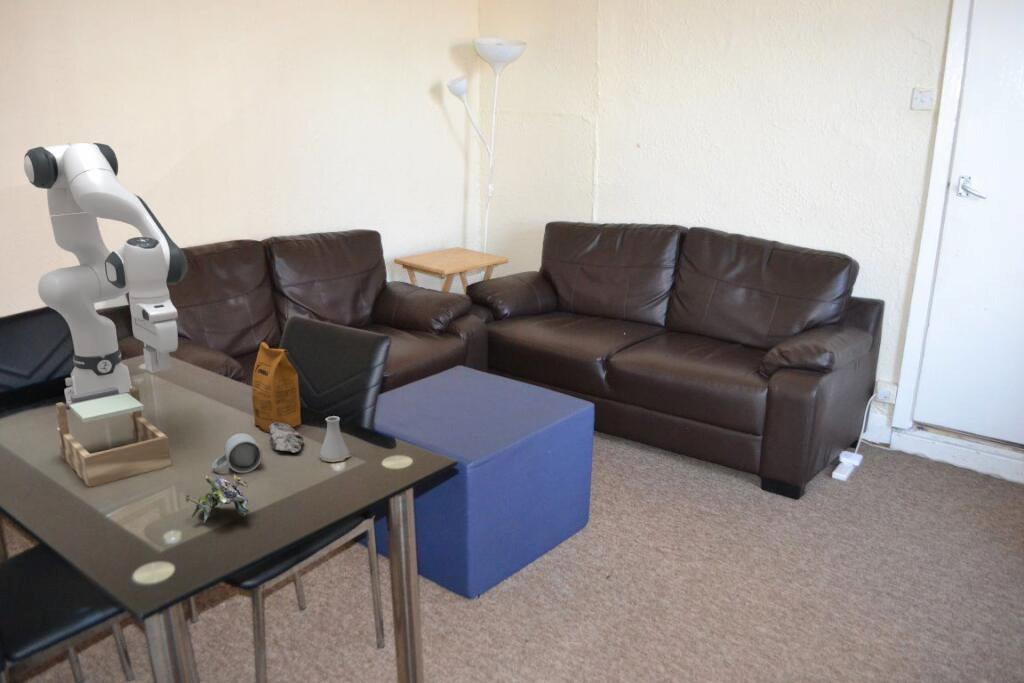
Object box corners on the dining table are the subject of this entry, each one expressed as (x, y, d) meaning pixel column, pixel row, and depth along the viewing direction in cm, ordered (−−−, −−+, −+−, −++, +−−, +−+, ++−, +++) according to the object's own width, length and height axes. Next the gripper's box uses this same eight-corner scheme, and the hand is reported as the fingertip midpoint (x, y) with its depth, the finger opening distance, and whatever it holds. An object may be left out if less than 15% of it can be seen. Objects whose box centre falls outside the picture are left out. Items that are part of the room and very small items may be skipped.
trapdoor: (62, 407, 194) (61, 397, 194) (124, 395, 203) (123, 385, 203) (82, 426, 183) (80, 415, 182) (146, 412, 192) (145, 401, 191)
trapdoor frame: (61, 455, 196) (52, 400, 192) (138, 436, 208) (131, 384, 204) (89, 487, 180) (80, 427, 176) (171, 465, 191) (164, 408, 187)
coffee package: (282, 415, 223) (276, 337, 217) (306, 427, 215) (301, 346, 209) (248, 424, 216) (241, 344, 210) (272, 437, 208) (265, 354, 202)
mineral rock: (304, 455, 197) (303, 438, 196) (270, 459, 195) (268, 442, 194) (302, 433, 211) (301, 417, 210) (270, 436, 209) (269, 420, 208)
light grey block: (145, 368, 198) (143, 348, 197) (164, 365, 201) (161, 344, 200) (152, 373, 195) (149, 352, 194) (170, 369, 198) (168, 348, 196)
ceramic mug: (257, 456, 196) (253, 426, 194) (263, 469, 189) (260, 438, 187) (210, 465, 192) (206, 435, 189) (215, 479, 185) (211, 447, 182)
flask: (313, 457, 196) (310, 418, 193) (338, 449, 201) (336, 410, 198) (331, 466, 191) (328, 426, 188) (356, 457, 196) (354, 418, 194)
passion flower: (243, 538, 170) (263, 504, 163) (191, 547, 162) (210, 512, 156) (226, 493, 175) (245, 459, 169) (175, 500, 168) (193, 464, 161)
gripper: (121, 301, 199) (128, 355, 203) (152, 316, 185) (159, 374, 188) (148, 297, 203) (154, 351, 207) (180, 312, 189) (186, 369, 192)
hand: (157, 362), depth 198 cm, fingers closed on light grey block, 4 cm apart
